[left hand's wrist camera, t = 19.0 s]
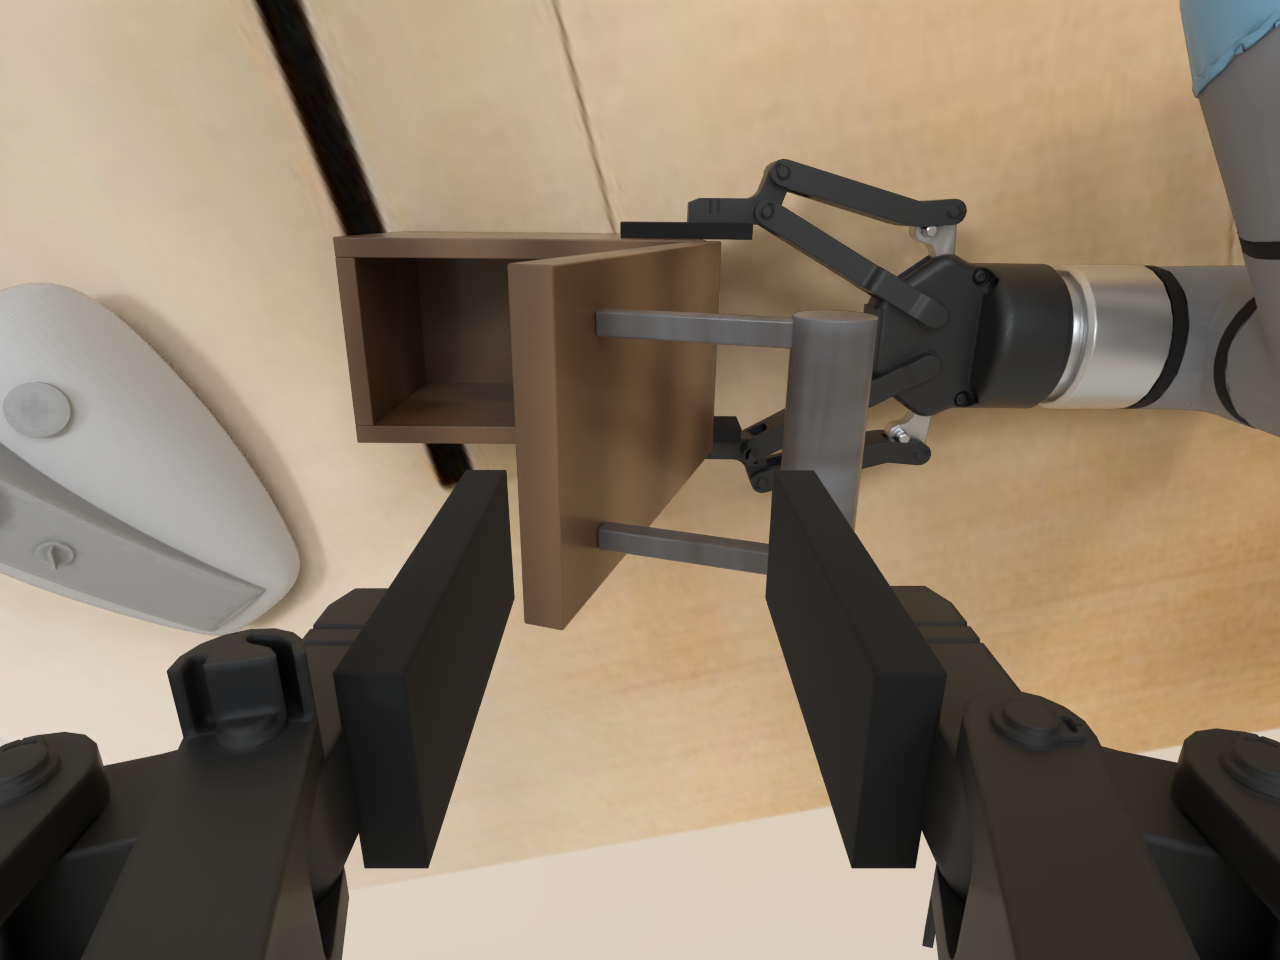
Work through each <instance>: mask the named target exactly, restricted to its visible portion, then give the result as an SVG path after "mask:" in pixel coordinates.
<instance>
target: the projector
mask: <svg viewBox="0 0 1280 960" xmlns="http://www.w3.org/2000/svg"><path fill="white" fill-rule="evenodd" d="M299 570H300V558H299V554H298V550H297V548H296V545H295V543H294V541H293V538H292V536H291V534H290V532H289V530H288V528H287V527H286V525H285V523H284V521H283V519H282V517H281V515H280V513H279V512H278V510H277V508H276V506H275V505H274V503H273V501H272V499H271V498H270V496H269V494H268V493H267V491H266V490H265V488H264V486H263V485H262V483H261V482H260V480H259V478H258V477H257V475H256V474H255V472H254V471H253V469H252V468H251V466H250V465H249V463H248V462H247V460H246V459H245V457H244V456H243V455H242V453H241V452H240V450H239V449H238V448H237V446H236V445H235V444H234V442H233V441H232V439H231V438H230V437H229V435H228V434H227V433H226V432H225V430H224V429H223V428H222V426H221V425H220V424H219V423H218V421H217V420H216V419H215V418H214V416H213V415H212V414H211V413H210V411H209V410H208V409H207V408H206V407H205V405H204V404H203V403H202V402H201V401H200V400H199V398H198V397H197V396H196V395H195V394H194V393H193V391H192V390H191V389H190V388H189V387H188V386H187V385H186V384H185V382H184V381H183V380H182V379H181V378H180V377H179V376H178V375H177V374H176V373H175V371H174V370H173V369H172V368H171V367H170V366H169V365H168V364H167V363H166V362H165V361H164V360H163V359H162V358H161V357H160V356H159V355H158V354H157V353H156V352H155V351H154V349H153V348H152V347H151V346H150V345H149V344H148V343H146V342H145V341H144V340H143V339H142V338H141V337H140V336H139V335H138V334H137V333H136V332H135V331H134V330H133V329H132V328H131V327H129V326H128V325H127V324H126V323H125V322H124V321H123V320H121V319H120V318H119V317H118V316H117V315H115V314H114V313H113V312H111V311H110V310H109V309H107V308H106V307H105V306H103V305H102V304H101V303H99V302H97V301H96V300H94V299H92V298H91V297H89V296H87V295H86V294H83V293H81V292H79V291H77V290H74V289H72V288H69V287H66V286H61V285H56V284H51V283H32V284H24V285H19V286H14V287H10V288H7V289H3V290H0V573H3V574H5V575H8V576H10V577H13V578H15V579H18V580H20V581H23V582H25V583H28V584H30V585H33V586H36V587H39V588H42V589H44V590H47V591H50V592H53V593H56V594H59V595H61V596H64V597H67V598H70V599H73V600H77V601H80V602H83V603H86V604H90V605H93V606H96V607H99V608H102V609H106V610H109V611H112V612H115V613H119V614H123V615H126V616H130V617H134V618H137V619H141V620H145V621H148V622H152V623H156V624H159V625H164V626H168V627H172V628H176V629H180V630H184V631H189V632H195V633H200V634H205V635H225V634H229V633H232V632H235V631H237V630H239V629H241V628H243V627H245V626H247V625H248V624H250V623H251V622H253V621H254V620H256V619H257V618H259V617H260V616H261V615H263V614H264V613H265V612H267V611H268V610H269V609H271V608H272V607H273V606H274V605H275V604H277V603H278V602H279V601H280V600H281V599H282V598H283V597H284V596H285V595H286V594H287V593H288V592H289V590H290V589H291V588H292V586H293V585H294V583H295V581H296V579H297V577H298V574H299Z"/></svg>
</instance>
